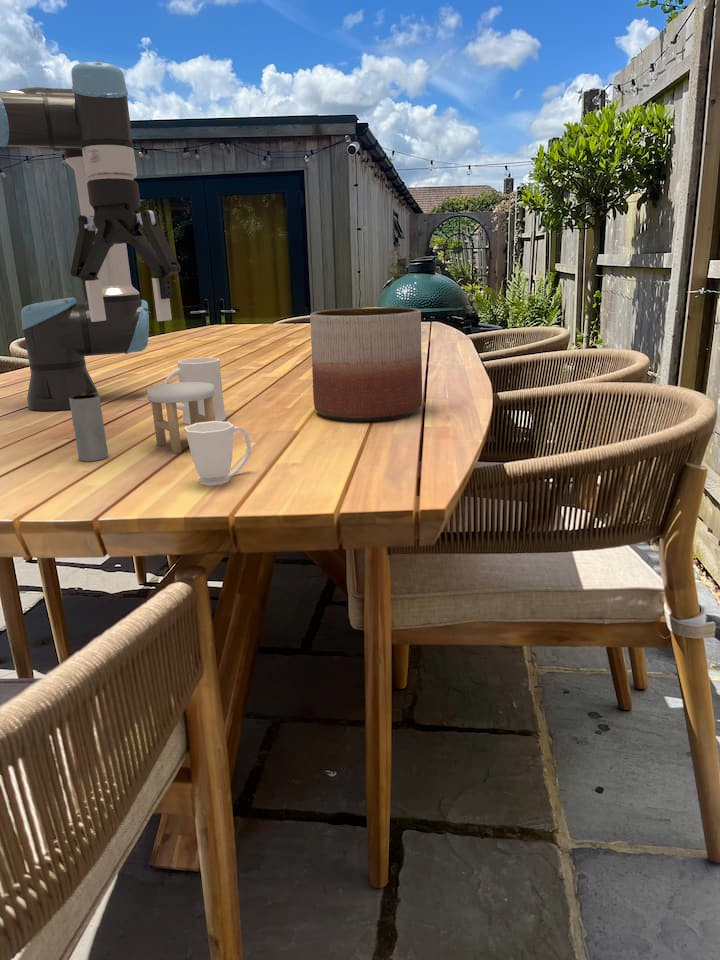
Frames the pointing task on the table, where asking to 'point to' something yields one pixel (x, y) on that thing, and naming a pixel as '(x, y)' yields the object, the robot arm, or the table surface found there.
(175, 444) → the stool
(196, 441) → the cup
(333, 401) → the planter
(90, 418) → the grey tube
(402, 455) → the table surface
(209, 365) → the white ceramic jug
